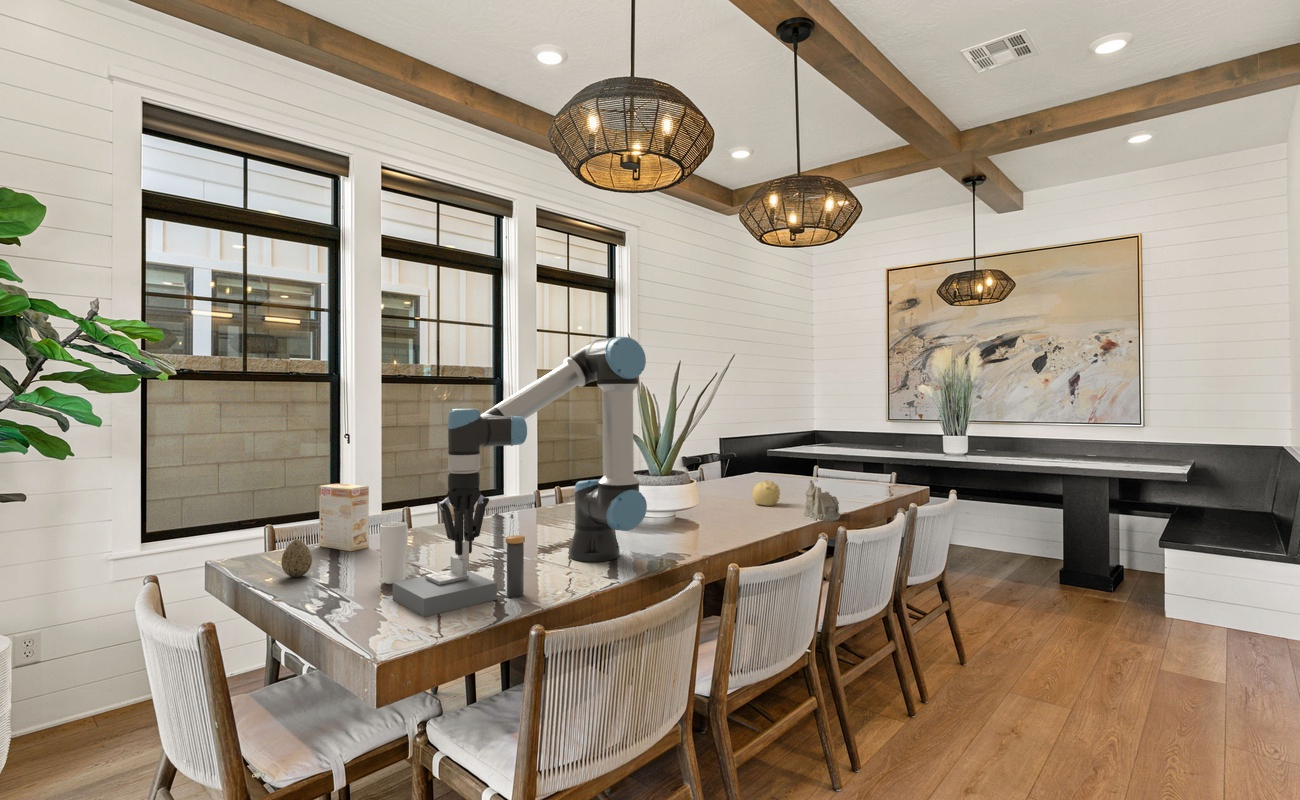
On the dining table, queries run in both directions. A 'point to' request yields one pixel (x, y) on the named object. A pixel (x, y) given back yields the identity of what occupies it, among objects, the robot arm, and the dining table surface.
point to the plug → (515, 566)
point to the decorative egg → (296, 559)
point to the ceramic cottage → (821, 504)
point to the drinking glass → (393, 550)
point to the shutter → (451, 572)
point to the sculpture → (766, 493)
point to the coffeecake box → (344, 516)
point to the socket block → (443, 594)
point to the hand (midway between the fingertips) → (463, 567)
